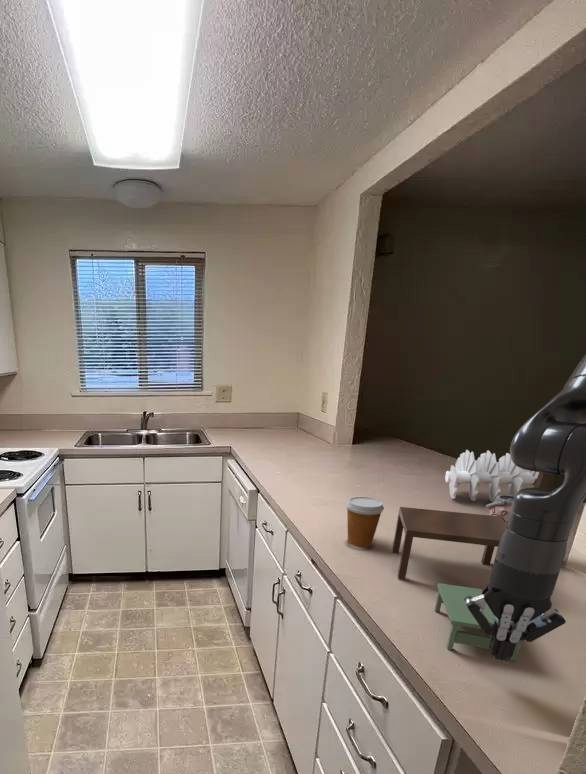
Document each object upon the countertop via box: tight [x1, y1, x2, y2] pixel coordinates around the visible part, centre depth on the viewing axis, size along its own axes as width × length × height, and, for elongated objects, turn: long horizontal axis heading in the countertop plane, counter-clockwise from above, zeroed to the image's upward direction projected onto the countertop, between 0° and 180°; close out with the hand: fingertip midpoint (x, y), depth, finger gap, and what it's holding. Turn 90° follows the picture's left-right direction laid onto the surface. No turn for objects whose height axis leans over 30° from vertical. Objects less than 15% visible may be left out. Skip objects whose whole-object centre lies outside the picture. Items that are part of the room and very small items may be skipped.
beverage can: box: [485, 494, 514, 524], centre depth 120 cm, size 9×8×12 cm
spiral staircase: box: [444, 449, 539, 503], centre depth 148 cm, size 18×18×25 cm
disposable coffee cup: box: [345, 496, 385, 548], centre depth 119 cm, size 10×10×12 cm
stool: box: [434, 582, 523, 662], centre depth 81 cm, size 11×14×6 cm
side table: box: [391, 506, 506, 581], centre depth 103 cm, size 22×16×12 cm
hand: (498, 656), depth 69 cm, fingers closed
